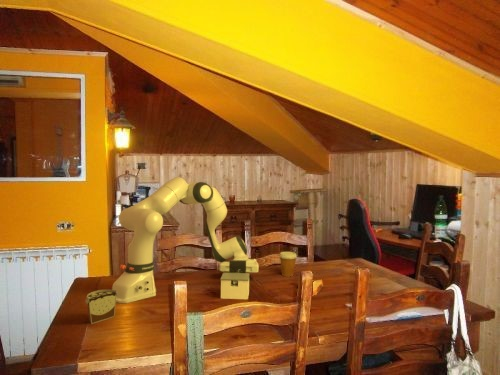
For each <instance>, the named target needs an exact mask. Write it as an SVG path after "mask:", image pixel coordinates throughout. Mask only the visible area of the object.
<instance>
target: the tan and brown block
mask: <svg viewBox="0 0 500 375" xmlns="http://www.w3.org/2000/svg"><path fill="white" fill-rule="evenodd" d="M116 295H117V296H118V294H117V291H116V290H112V289H98V290H94V291H91V292H89V293H87V295H86V298H85V300H84V302H85V304H86V305H87V311H88V320H89V324H91V325H93V324H96V323H100V322H102V321H105V320H106V321H107V320H109V319H112V318H115V316H116V315H115V313H116V304H117V302H116Z"/></svg>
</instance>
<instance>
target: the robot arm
mask: <svg viewBox="0 0 500 375" xmlns="http://www.w3.org/2000/svg"><path fill="white" fill-rule="evenodd" d="M179 202H180V204H184V205H199V204H201V205H202V206H203V209H204V210H205V213H206V219H205V220H204V221H205V223H204V224H205V230H206V233H207V237H208V240H209V242H210V243H209V244H210V247H211V250H212V251H211V252H212V255H213V258H214V260H215V261H217V262H220V263H219V269H218V270H219V272H224V273H229V261H228V260H230V259H232V258H233V259H232V260H246V273H259V267H260V266H259V262H257V259H255V258H252V257H249V254H248V246H247V245H246V242H245V240H244V239H243V238H241V237H239V236H234V237H231V238H230V239H227V240H225V241H223V242H219V241H218V238H217V235H216V231H215V230H216V229H217V227H218V226H219V225H220V224H221V223H222V222H223V221H224V220H225V219H226V217H227V214H228V208H227V205H226V203H225V201H224V199H223V197H222V195H221V194H220V193H219V191H218V190H217V188H216V187H215V186H210V184H208V183H207V182H203V181H200V182H190V183H187V180H185V179H184V178H182V177H181V176H180V177H179V176H175V177H174V178H171V179H169V180H168V181H166V182H165V183H164V184H163V185H161V186H160V187H159V188H158V189H156V190H155V191H154V192H153V193H152V194H150V195H149V196H147V197H146V198H144V199H142V200H140V201H138V202H137V203H135V204H133V205H131V206H129V207H126V208H123V209H122V210H121V212H120V213H119V216H118V222H119V224H120V226H121V227H122V228H124V229H126V230H128V231H133V237H132V240H131V242H129V244H127V245H128V247H127V262H126V264H120V269H121V270H124V272H122V274H121V275H120V276H119V277H118V278H117V279H116V280H115V281H114V282H113V284H112V287H111V290H116V291H117V294H118V296H117V295H116V303H119V304H129V303H133V302H136V301H141V300H145V299H149V298H153V297H156V296H157V288H156V283H155V276H154V269H155V262H154V243H155V239H156V237H157V234H158V233H159V231H161V229H162V228H163V224H164V218H163V216H162V215H165V214H167V213H168V212H169V211H170V210H171V209H172V208H173V207H174V206H175V205H176V204H178V203H179Z"/></svg>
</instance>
